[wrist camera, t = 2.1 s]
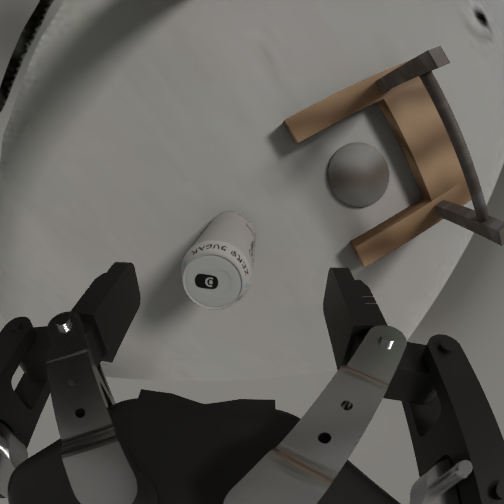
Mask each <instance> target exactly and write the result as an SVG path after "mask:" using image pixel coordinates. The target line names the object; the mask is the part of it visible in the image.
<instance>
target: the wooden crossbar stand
mask: <svg viewBox="0 0 504 504" xmlns="http://www.w3.org/2000/svg"><path fill="white" fill-rule="evenodd" d="M449 63H450V61H449V60H448V58H447V56H446V55H445V53H444V51H443V49H442V48H441V46H439V47H436V48H433V49H431V50H428V51H426V52H424V53H423V54H421V55H419V56H417V57H415V58H414V59H412V60H410V61H407V62H405V63H402V64H400V65H397V66H395V67H393V68H390V69H388V70H386V71H383V72H381V73H379V74H376V75H374V76H372V77H370V78H367V79H365V80H363V81H361V82H359V83H356V84H354V85H352V86H350V87H348V88H346V89H344V90H342V91H340V92H338V93H336V94H334V95H331V96H329V97H327V98H325V99H323V100H322V101H320V102H318V103H316V104H314V105H312V106H310V107H308V108H306V109H304V110H302V111H300V112H299V113H297V114H295V115H293V116H291V117H289V118H288V119H286V120H284V122H283V124H284V125H285V127H286V128H287V130H288V131H289V133H290V135H291V136H292V138H293V140H294V141H295V143H296V144H297V143H299V142H301V141H303V140H305V139H307V138H308V137H310V136H312V135H314V134H316V133H318V132H319V131H321V130H323V129H325V128H327V127H329V126H331V125H333V124H334V123H336V122H338V121H340V120H342V119H344V118H346V117H348V116H350V115H352V114H354V113H356V112H358V111H360V110H362V109H364V108H366V107H368V106H370V105H372V104H374V103H376V102H377V103H378V105H379V107H380V109H381V110H382V112H383V114H384V116H385V118H386V120H387V121H388V123H389V125H390V127H391V129H392V131H393V133H394V135H395V137H396V139H397V141H398V143H399V145H400V147H401V149H402V151H403V153H404V155H405V158H406V160H407V162H408V164H409V166H410V169H411V171H412V173H413V175H414V178H415V180H416V182H417V185H418V187H419V190H420V192H421V195H422V197H423V198H422V199H421V200H419V201H417V202H416V203H414V204H413V205H411V206H409V207H408V208H406V209H404V210H403V211H401V212H399V213H398V214H396V215H394V216H393V217H391V218H389V219H388V220H386V221H384V222H383V223H381V224H379V225H378V226H376V227H374V228H373V229H371V230H369V231H367V232H366V233H364V234H362V235H361V236H359V237H357V238H355V239H354V240H352V241H350V243H351V245H352V247H353V249H354V251H355V253H356V255H357V257H358V259H359V261H360V262H361V263H362V264H363V266H364V267H366V266H368V265H370V264H371V263H373V262H375V261H376V260H378V259H380V258H382V257H383V256H385V255H387V254H388V253H390V252H392V251H393V250H395V249H396V248H398V247H400V246H401V245H403V244H405V243H406V242H408V241H409V240H411V239H413V238H414V237H416V236H417V235H419V234H421V233H422V232H424V231H425V230H427V229H428V228H430V227H432V226H433V225H435V224H436V223H438V222H439V221H441V220H442V219H446V220H449V221H451V222H453V223H455V224H458V225H460V226H462V227H464V228H466V229H468V230H471V231H473V232H475V233H477V234H479V235H481V236H483V237H486V238H487V239H489V240H491V241H493V242H495V243H497V244H499V245H501V246H502V245H503V244H504V222H503V221H501V220H499V219H496V218H494V217H491V216H489V215H488V212H487V208H486V204H485V200H484V196H483V193H482V190H481V186H480V183H479V180H478V177H477V174H476V171H475V168H474V165H473V162H472V159H471V156H470V153H469V151H468V148H467V146H466V143H465V140H464V138H463V135H462V133H461V131H460V128H459V126H458V124H457V121H456V119H455V117H454V115H453V112H452V110H451V108H450V106H449V104H448V102H447V100H446V98H445V96H444V94H443V92H442V90H441V88H440V86H439V84H438V82H437V80H436V79H435V77H434V75H433V73H432V70H434V69H437V68H439V67H441V66H444V65H446V64H449ZM328 180H329V184H330V187H331V189H332V191H333V192H334V194H335V195H336V196H337V197H338V198H339V199H340V200H341V201H342V202H344V203H346V204H348V205H350V206H354V207H365V206H369V205H371V204H373V203H375V202H376V201H378V200H379V199H380V198H381V197H382V196H383V194H384V193H385V191H386V189H387V186H388V182H389V170H388V166H387V163H386V161H385V159H384V157H383V156H382V154H381V153H380V152H379V151H378V150H377V149H375V148H374V147H372V146H370V145H368V144H365V143H351V144H347V145H345V146H343V147H342V148H340V149H339V150H338V151H337V152H336V153H335V154H334V155H333V157H332V159H331V161H330V164H329V168H328ZM470 200H472V202H473V205H474V209H475V210H472V209H469V208H466V207H464V206H463V205H465V204H466V203H467V202H469V201H470Z"/></svg>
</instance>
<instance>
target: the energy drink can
mask: <svg viewBox="0 0 504 504" xmlns="http://www.w3.org/2000/svg"><path fill="white" fill-rule="evenodd" d="M255 242H256V232H255V228H254V226H253V224H252V222H251V221H250V220H249V219H248V218H247V217H246V216H244V215H242V214H240V213H237V212H224V213H221V214H219V215H218V216H216V217H215V218H214V219H213V220H212V221H211V222H210V223H209V225H208V226H207V227H206V228H205V230H204V231H203V232H202V233H201V235H200V236H199V237H198V239H197V240H196V241H195V242H194V244H193V245H192V246H191V248H190V249H189V250H188V252H187V253H186V255H185V256H184V258H183V261H182V264H181V278H182V282H183V286H184V290H185V292H186V294H187V295H188V297H189V298H190V299H191V300H192V301H193V302H194V303H196V304H197V305H199V306H201V307H203V308H206V309H210V310H219V309H224V308H227V307H229V306H231V305H232V304H234V303H235V302H237V301H239V300H240V299H241V298H242V297H243V296H244V295H245V294H246V292H247V291H248V289H249V287H250V284H251V280H252V271H253V261H254V251H255Z"/></svg>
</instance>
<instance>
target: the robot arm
mask: <svg viewBox="0 0 504 504" xmlns="http://www.w3.org/2000/svg"><path fill="white" fill-rule="evenodd" d="M89 287H90V288H88V289H87V290H86V292H85V294H83V296H82V297H81V298H80V299H79V301H78V302H77V303H76V305H75V306H74V308H73V309H72V310H71V312H63V313H60V314H58V315H56V316H55V317H53V318H52V319H51V320H50V322H49V324H48V326H45V327H34V328H33V325H32V323H31V321H30V320H29V319H28V318H27V317H18V318H15V319H13V320H11V321H10V322H8V323H7V324H6V325H5V327H4V328H3V329H2V331H1V332H0V498H8V501H9V504H400V503H399V502H398V501H397V500H395V499H394V498H392V497H391V496H390V495H389V494H388V493H386V492H385V491H384V490H383V489H382V488H380V487H379V486H378V485H377V484H375V483H374V482H373V481H372V480H371V479H369V478H368V477H367V476H366V475H365V474H363V473H362V472H361V471H360V470H359V469H358V468H357V467H355V466H354V465H353V464H352V463H351V462H350V461H349V460H348V458H349V456H350V455H351V453H352V452H353V450H354V449H355V447H356V445H357V444H358V442H359V440H360V439H361V437H362V435H363V433H364V432H365V430H366V428H367V427H368V425H369V423H370V421H371V419H372V418H373V416H374V414H375V412H376V410H377V408H378V406H379V404H380V403H381V401H382V399H383V398H386V399H394V400H400V401H402V404H403V408H404V411H405V415H406V419H407V423H408V427H409V430H410V435H411V439H412V443H413V448H414V452H415V457H416V461H417V466H418V471H419V476H420V478H419V479H418V480H417V481H416V482H415V483H414V485H413V486H412V489H411V492H410V504H504V440H503V437H502V434H501V432H500V429H499V427H498V424H497V422H496V419H495V417H494V414H493V412H492V410H491V407H490V405H489V403H488V400H487V398H486V396H485V394H484V391H483V389H482V387H481V385H480V383H479V381H478V379H477V377H476V375H475V373H474V371H473V369H472V367H471V365H470V363H469V361H468V359H467V357H466V355H465V353H464V351H463V349H462V348H461V346H460V344H459V343H458V342H457V341H456V340H455V339H453V338H451V337H449V336H447V335H440V334H439V335H435V336H432V337H431V338H430V339H429V341H428V343H427V345H422V344H416V343H410V342H407V341H406V338H405V336H404V335H403V333H402V332H400V331H399V330H398V329H396V328H394V327H391V326H387V323H386V321H385V319H384V317H383V315H382V313H381V311H380V309H379V307H378V305H377V304H376V301H375V299H374V297H373V295H372V293H371V291H370V289H369V287H368V286H367V285H365V284H364V283H363V282H362V281H361V280H354V278H353V276H352V274H351V272H350V270H349V268H330V269H329V272H328V278H327V284H326V290H325V296H324V303H323V310H324V316H325V320H326V324H327V328H328V332H329V336H330V340H331V344H332V348H333V352H334V357H335V361H336V365H337V369H338V371H337V373H336V374H335V375H334V377H333V378H332V380H331V381H330V382H329V384H328V385H327V386H326V388H325V389H324V390H323V392H322V393H321V394H320V396H319V397H318V398H317V400H316V401H315V402H314V403H313V405H312V406H311V407H310V408H309V410H308V411H307V412H306V413H305V415H304V416H303V417H302V418H301V419H300V418H298V417H296V416H294V415H292V414H290V413H287V412H284V411H281V410H276V409H275V400H251V399H239V400H232V401H226V402H219V403H211V404H202V403H198V402H195V401H192V400H189V399H186V398H183V397H180V396H177V395H174V394H171V393H163V392H156V391H149V390H143V389H141V392H140V394H139V397H138V398H137V399H130V400H125V401H122V402H119V403H115V401H114V399H113V396H112V394H111V391H110V388H109V386H108V383H107V381H106V378H105V375H104V372H103V370H102V367H101V365H100V362H101V361H107V362H112V361H113V359H114V357H115V355H116V353H117V351H118V349H119V347H120V345H121V343H122V340H123V338H124V336H125V334H126V332H127V330H128V328H129V326H130V324H131V322H132V320H133V318H134V316H135V314H136V312H137V310H138V308H139V306H140V291H139V287H138V282H137V277H136V272H135V267H134V265H133V263H127V262H115V263H114V264H113V265H112V266H111V268H110V269H109V270H108V271H107V273H103V274H102V275H101V276H99V277H98V278H96V279H95V280H94V281H93V283H92V284H91V285H90V286H89ZM19 365H20V367H21V368H22V370H23V371H24V374H23V376H22V378H21V380H20V382H19V383H18V385H17V387H16V389H15V391H14V390H13V388H12V385H11V380H12V376H13V375H14V373H15V371H16V369H17V368H18V366H19ZM50 393H51V397H52V403H53V408H54V413H55V417H56V421H57V426H58V430H59V433H60V439H59V440H57V441H56V442H54V443H53V444H51V445H49V446H48V447H46V448H45V449H43V450H41V451H40V452H38V453H36V454H35V455H33V456H31V457H30V458H28V452H27V447H28V444H29V442H30V439H31V436H32V434H33V432H34V429H35V427H36V424H37V422H38V419H39V417H40V414H41V412H42V410H43V408H44V405H45V403H46V401H47V399H48V396H49V394H50Z"/></svg>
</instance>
